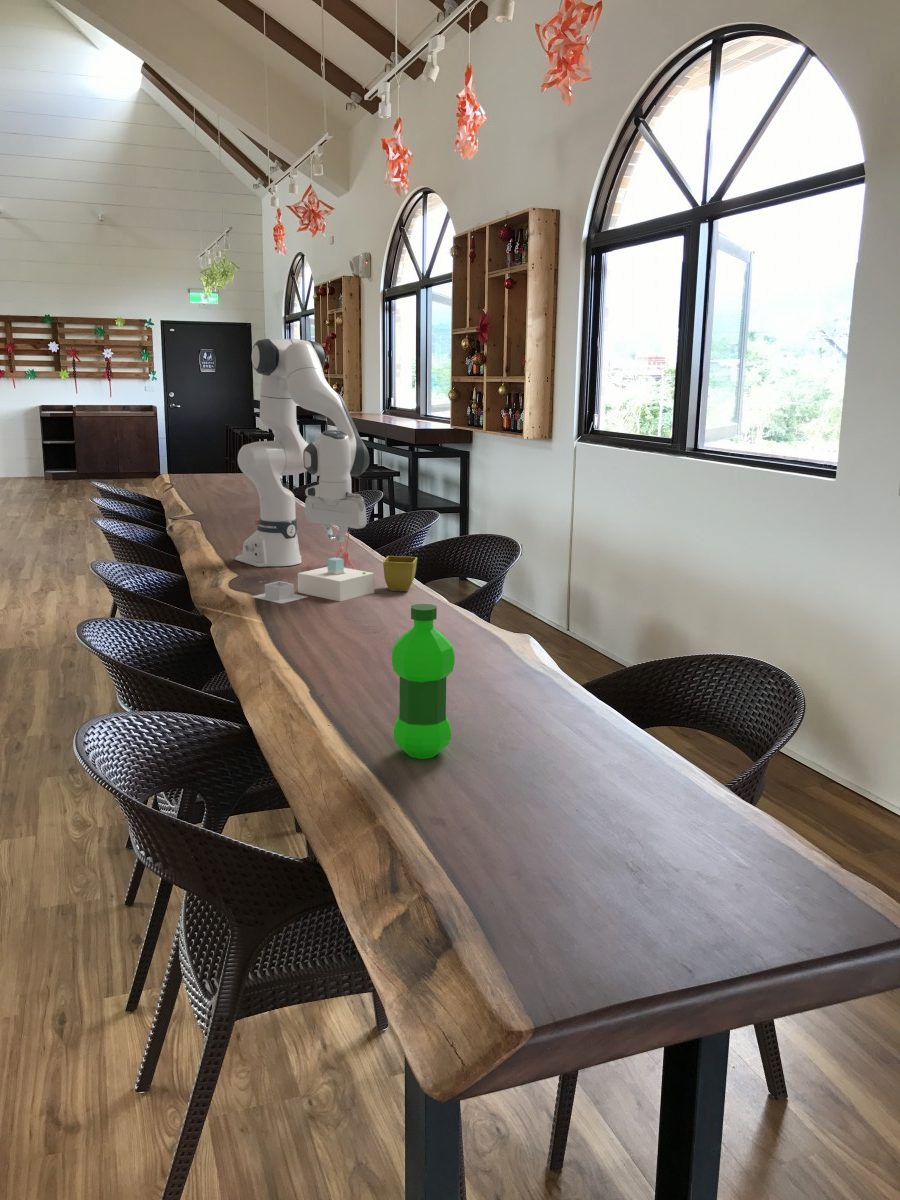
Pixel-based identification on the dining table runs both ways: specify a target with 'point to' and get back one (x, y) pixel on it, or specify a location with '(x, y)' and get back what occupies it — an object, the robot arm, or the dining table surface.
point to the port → (336, 584)
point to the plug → (335, 566)
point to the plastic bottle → (422, 685)
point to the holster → (279, 593)
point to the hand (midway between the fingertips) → (335, 541)
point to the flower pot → (399, 572)
